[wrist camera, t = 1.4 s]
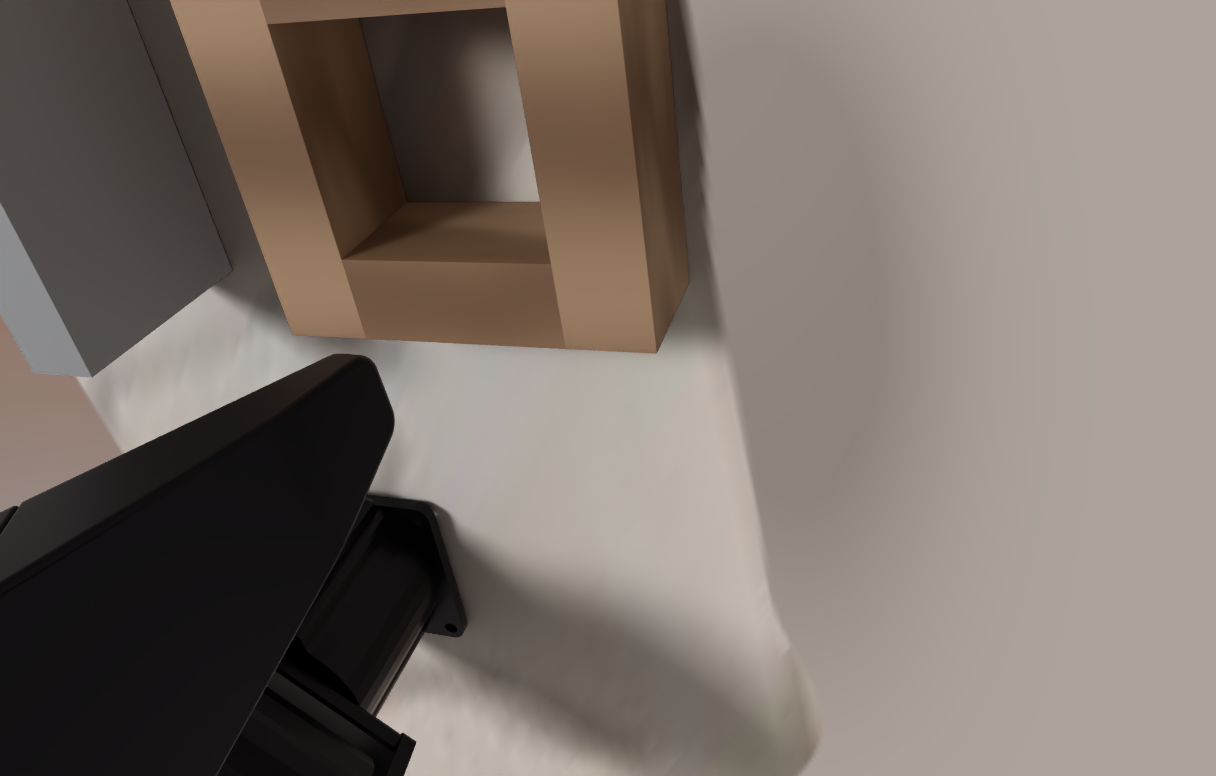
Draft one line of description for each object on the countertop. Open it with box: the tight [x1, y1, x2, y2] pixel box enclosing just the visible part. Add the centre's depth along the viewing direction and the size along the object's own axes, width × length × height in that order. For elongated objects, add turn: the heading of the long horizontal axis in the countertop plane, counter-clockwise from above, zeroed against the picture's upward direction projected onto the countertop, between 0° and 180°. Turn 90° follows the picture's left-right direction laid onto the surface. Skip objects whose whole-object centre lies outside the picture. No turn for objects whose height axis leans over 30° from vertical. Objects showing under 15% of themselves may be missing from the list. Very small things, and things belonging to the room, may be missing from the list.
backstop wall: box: [0, 0, 232, 377], centre depth 22 cm, size 16×2×6 cm, turn 7°
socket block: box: [170, 0, 689, 353], centre depth 21 cm, size 10×10×4 cm
